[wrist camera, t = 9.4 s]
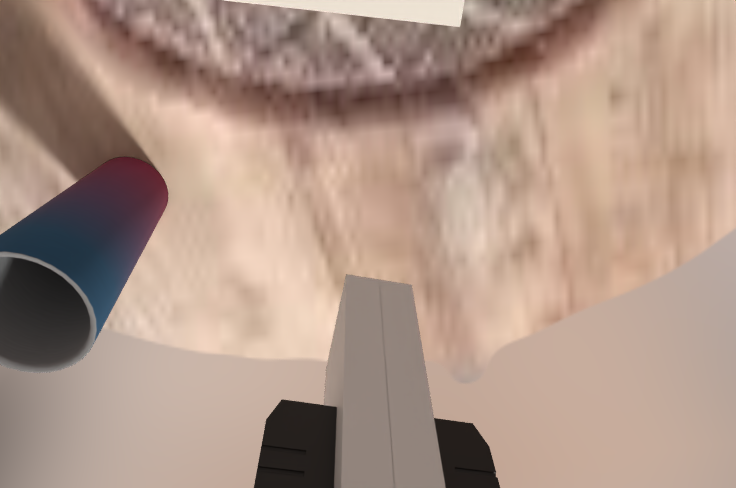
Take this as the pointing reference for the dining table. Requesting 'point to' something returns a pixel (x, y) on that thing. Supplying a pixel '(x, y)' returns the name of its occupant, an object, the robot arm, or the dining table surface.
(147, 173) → the cup
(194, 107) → the dining table surface
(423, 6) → the storage box
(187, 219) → the dining table surface
